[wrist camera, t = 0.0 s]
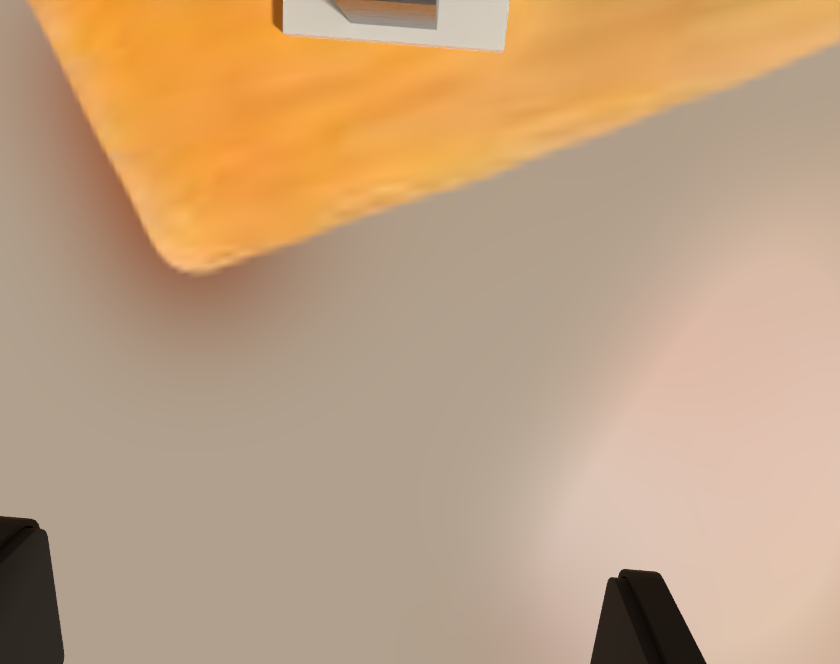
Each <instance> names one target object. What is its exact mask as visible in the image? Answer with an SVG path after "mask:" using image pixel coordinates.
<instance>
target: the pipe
mask: <svg viewBox="0 0 840 664" xmlns="http://www.w3.org/2000/svg"><path fill="white" fill-rule="evenodd" d="M334 1H335V2H336V4H337V5H338V6H339V8H340V9H341V10H342V12H343V13H344V14H345V16H346V17H347V18H348V20H349V21H350V22H351V23H354V24H367V25H380V26H392V27H405V28H418V29H430V30H437V24H438V11H439V0H334Z"/></svg>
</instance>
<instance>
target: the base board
mask: <svg viewBox="0 0 840 664" xmlns="http://www.w3.org/2000/svg"><path fill="white" fill-rule="evenodd" d="M509 1H510V0H439V11H438V24H437V30H430V29H418V28H405V27H392V26H380V25H367V24H354V23H351V22H350V21H349V20H348V18H347V17H346V16H345V14H344V13H343V12H342V10H341V9H340V8H339V6H338V5H337V4H336V2H335V1H334V0H283V33H284V34H285V35H286V36H294V37H306V38H319V39H332V40H344V41H357V42H370V43H382V44H395V45H407V46H420V47H433V48H445V49H458V50H471V51H483V52H496V53H503V51H504V46H505V37H506V28H507V19H508V10H509Z"/></svg>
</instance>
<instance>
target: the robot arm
mask: <svg viewBox="0 0 840 664" xmlns="http://www.w3.org/2000/svg"><path fill="white" fill-rule="evenodd" d="M63 662H64V649H63V641H62V635H61V628H60V620H59V614H58V606H57V599H56V592H55V585H54V578H53V571H52V564H51V557H50V549H49V542H48V536H47V533H46V531H45V530H42V529H40V527H39V524H38V523H37V522H36V520H33V519H28V518H16V517H4V516H0V664H63ZM590 664H706V662H705V660H704V658H703V656H702V654H701V652H700V650H699V648H698V646H697V644H696V642H695V640H694V638H693V636H692V634H691V632H690V631H689V628H688V626H687V625H686V623H685V621H684V619H683V617H682V615H681V613H680V611H679V609H678V607H677V605H676V603H675V601H674V599H673V597H672V595H671V593H670V591H669V589H668V587H667V585H666V583H665V581H664V579H663V578H662V576H661V575H660V574H659V573H657V572H653V571H642V570H630V569H623V570H621V572H620V573H619V576H618V578H613V577H611V578H609V580H608V583H607V586H606V591H605V596H604V601H603V605H602V610H601V615H600V620H599V625H598V629H597V634H596V639H595V644H594V648H593V653H592V658H591V663H590Z"/></svg>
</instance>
